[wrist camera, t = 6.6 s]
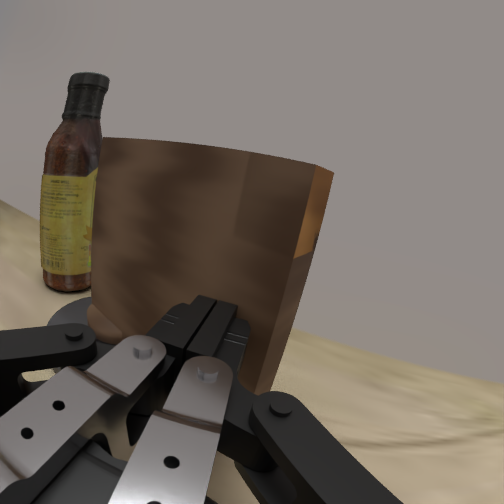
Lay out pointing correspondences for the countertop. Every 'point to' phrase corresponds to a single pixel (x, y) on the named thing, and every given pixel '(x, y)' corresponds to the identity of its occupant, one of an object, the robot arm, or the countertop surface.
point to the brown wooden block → (203, 240)
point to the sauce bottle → (72, 185)
